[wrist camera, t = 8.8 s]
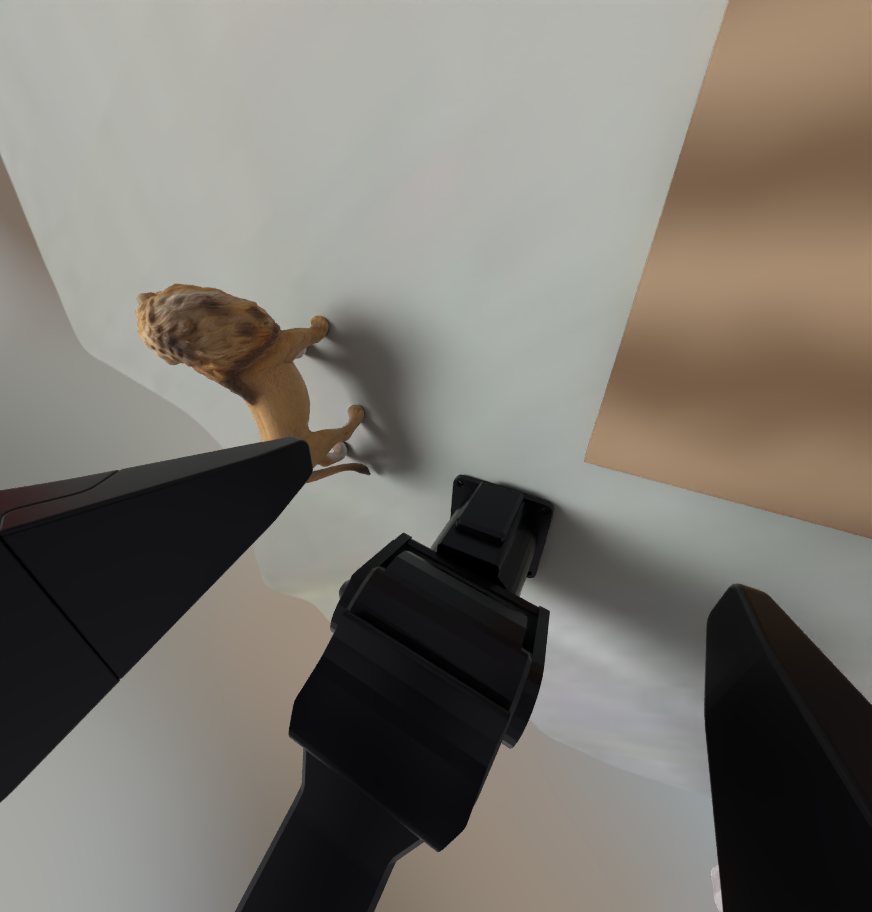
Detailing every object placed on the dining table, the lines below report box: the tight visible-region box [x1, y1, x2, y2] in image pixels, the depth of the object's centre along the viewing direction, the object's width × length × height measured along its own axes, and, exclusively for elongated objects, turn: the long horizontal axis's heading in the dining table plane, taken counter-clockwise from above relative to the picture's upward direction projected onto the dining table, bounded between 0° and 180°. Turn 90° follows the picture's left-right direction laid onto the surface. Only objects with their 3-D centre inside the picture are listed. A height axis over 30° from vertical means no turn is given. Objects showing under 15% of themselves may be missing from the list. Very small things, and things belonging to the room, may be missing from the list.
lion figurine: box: [136, 284, 371, 483], centre depth 22 cm, size 15×5×9 cm, turn 27°
